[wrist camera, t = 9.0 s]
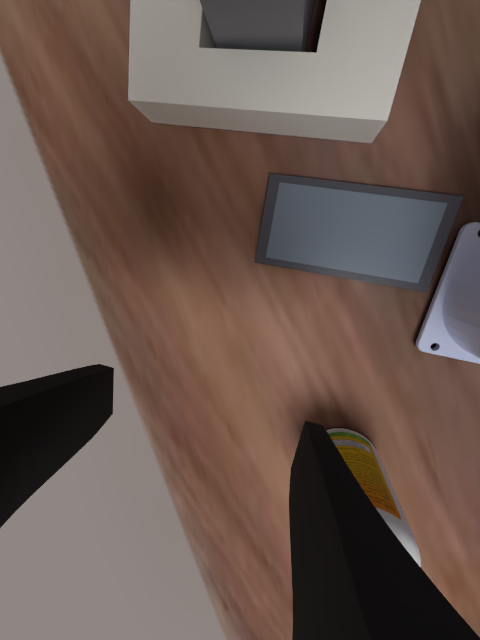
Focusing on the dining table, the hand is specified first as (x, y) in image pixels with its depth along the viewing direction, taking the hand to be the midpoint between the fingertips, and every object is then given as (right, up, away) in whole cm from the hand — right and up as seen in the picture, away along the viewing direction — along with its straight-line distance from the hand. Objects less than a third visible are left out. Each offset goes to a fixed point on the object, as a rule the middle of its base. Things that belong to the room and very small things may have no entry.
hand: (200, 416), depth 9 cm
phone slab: (+8, +9, +7) cm, 14 cm away
